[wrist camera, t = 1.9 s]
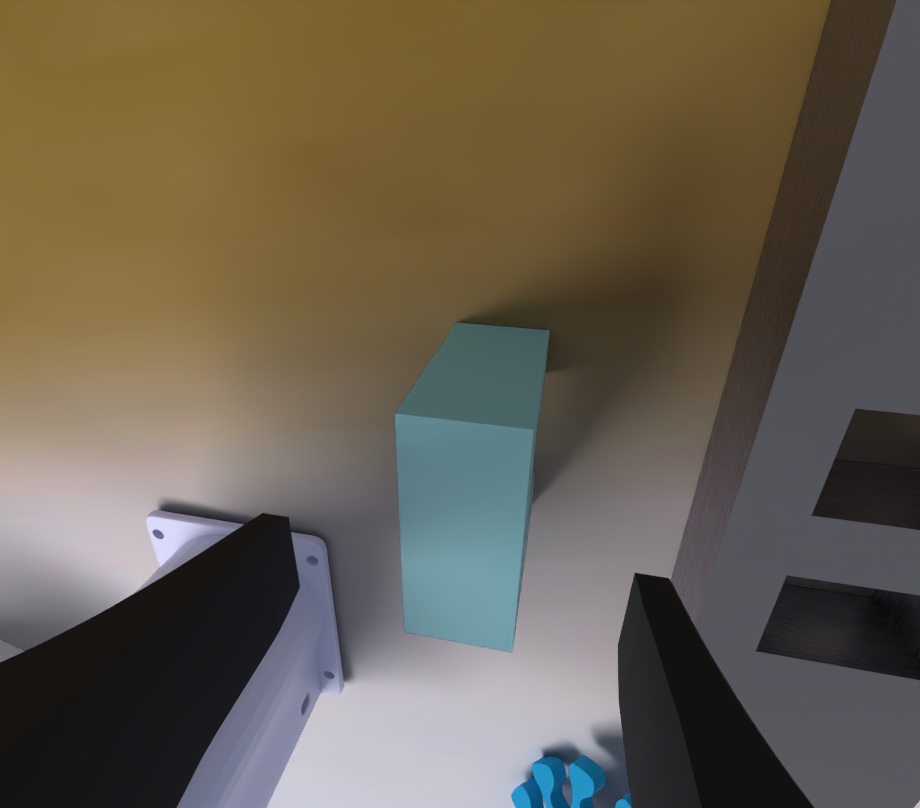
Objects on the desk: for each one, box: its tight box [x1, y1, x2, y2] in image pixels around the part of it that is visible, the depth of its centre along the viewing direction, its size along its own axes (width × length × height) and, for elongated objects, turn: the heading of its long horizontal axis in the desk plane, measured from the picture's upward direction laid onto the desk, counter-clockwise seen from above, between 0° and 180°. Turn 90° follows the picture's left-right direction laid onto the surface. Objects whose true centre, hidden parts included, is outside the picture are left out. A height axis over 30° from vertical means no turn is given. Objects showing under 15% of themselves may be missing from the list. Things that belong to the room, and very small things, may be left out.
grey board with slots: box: [671, 0, 920, 808], centre depth 14 cm, size 24×8×3 cm, turn 179°
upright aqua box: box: [395, 322, 550, 653], centre depth 14 cm, size 6×3×6 cm, turn 179°
